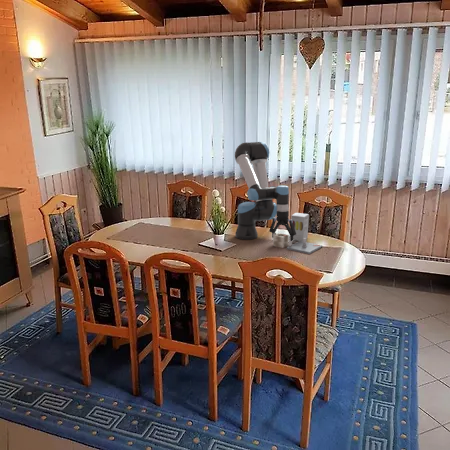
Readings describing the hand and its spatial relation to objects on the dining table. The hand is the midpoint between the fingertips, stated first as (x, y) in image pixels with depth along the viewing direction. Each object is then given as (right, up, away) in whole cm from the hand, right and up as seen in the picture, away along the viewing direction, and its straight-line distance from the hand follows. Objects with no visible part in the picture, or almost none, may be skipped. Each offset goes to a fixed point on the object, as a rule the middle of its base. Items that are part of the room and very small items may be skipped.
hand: (282, 244), depth 293 cm
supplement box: (+13, +3, +15) cm, 20 cm away
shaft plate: (+13, -2, -4) cm, 14 cm away
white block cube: (-1, -1, +1) cm, 2 cm away
